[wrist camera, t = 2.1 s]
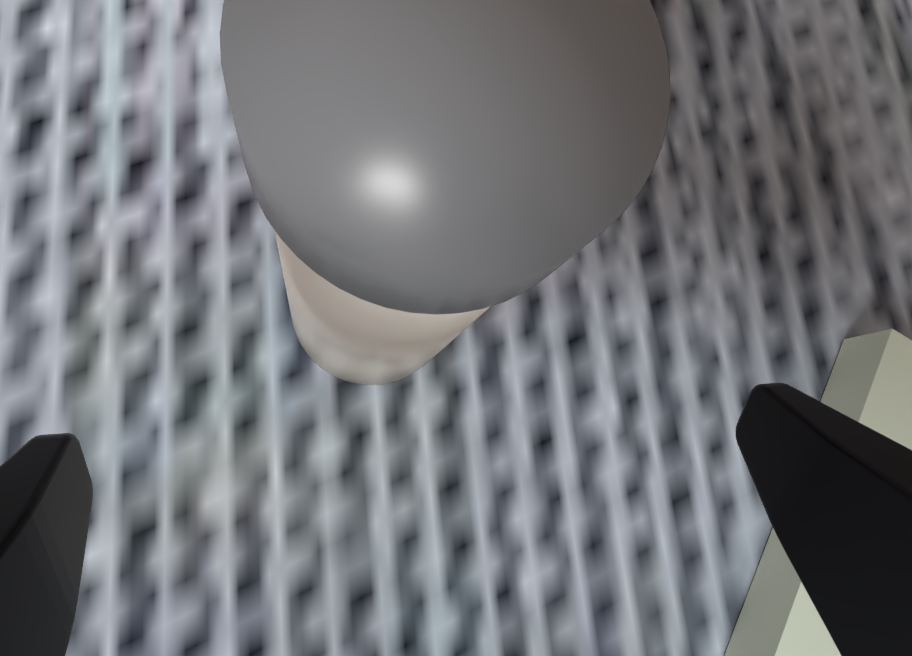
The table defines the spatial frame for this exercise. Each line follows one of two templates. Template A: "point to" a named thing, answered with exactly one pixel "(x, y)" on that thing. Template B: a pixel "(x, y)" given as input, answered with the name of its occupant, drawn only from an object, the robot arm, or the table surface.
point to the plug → (436, 155)
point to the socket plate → (775, 582)
